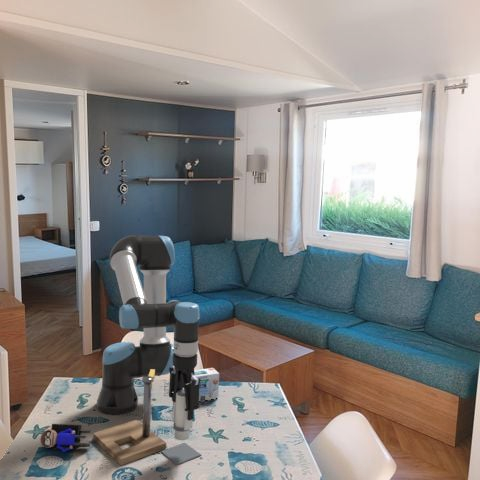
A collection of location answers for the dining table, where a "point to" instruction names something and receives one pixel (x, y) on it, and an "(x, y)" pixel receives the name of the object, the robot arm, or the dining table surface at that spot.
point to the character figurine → (64, 437)
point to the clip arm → (152, 375)
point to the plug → (180, 416)
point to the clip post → (147, 405)
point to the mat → (180, 453)
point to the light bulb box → (208, 383)
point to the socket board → (128, 433)
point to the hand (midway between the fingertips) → (182, 424)
